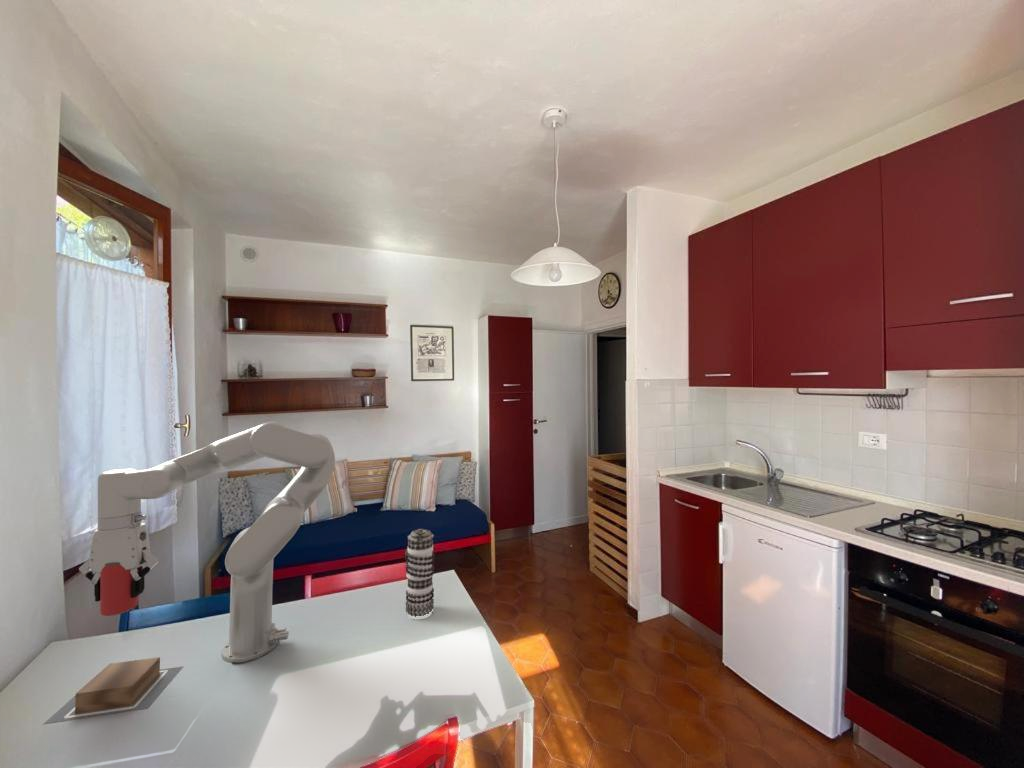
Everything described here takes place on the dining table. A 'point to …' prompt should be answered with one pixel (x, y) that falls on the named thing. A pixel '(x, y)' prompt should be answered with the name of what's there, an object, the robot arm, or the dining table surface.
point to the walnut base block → (117, 685)
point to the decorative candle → (420, 572)
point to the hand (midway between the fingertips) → (119, 596)
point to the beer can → (116, 590)
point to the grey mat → (141, 703)
